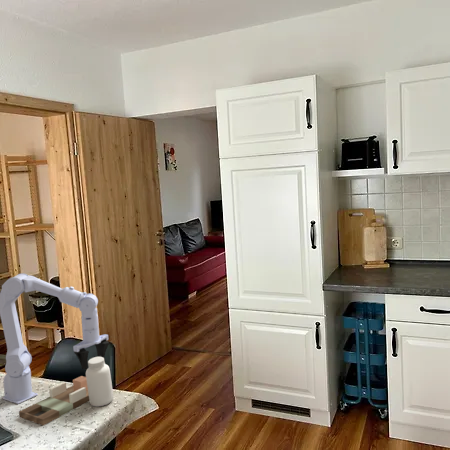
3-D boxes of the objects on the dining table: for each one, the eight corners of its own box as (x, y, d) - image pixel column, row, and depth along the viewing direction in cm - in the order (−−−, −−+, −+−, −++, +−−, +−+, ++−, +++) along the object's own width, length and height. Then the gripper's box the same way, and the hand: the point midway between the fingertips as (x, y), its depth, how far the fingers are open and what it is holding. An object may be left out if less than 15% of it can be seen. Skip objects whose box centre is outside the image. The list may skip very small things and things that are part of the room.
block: (73, 390, 157) (72, 379, 157) (82, 386, 161) (81, 375, 160) (81, 393, 155) (80, 381, 155) (90, 388, 159) (89, 377, 158)
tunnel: (49, 397, 153) (49, 388, 153) (64, 390, 158) (63, 381, 158) (72, 403, 147) (71, 394, 147) (86, 396, 152) (85, 387, 152)
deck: (19, 417, 144) (19, 411, 144) (77, 388, 164) (77, 383, 164) (43, 425, 137) (42, 419, 137) (100, 395, 158) (100, 389, 157)
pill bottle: (108, 407, 147) (101, 365, 145) (85, 407, 149) (79, 365, 147) (117, 394, 155) (111, 354, 153) (96, 394, 157) (90, 354, 154)
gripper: (81, 335, 152) (84, 374, 153) (113, 324, 164) (115, 359, 165) (68, 333, 156) (71, 370, 156) (99, 322, 168) (102, 357, 169)
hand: (93, 365), depth 161 cm, fingers open, 7 cm apart
